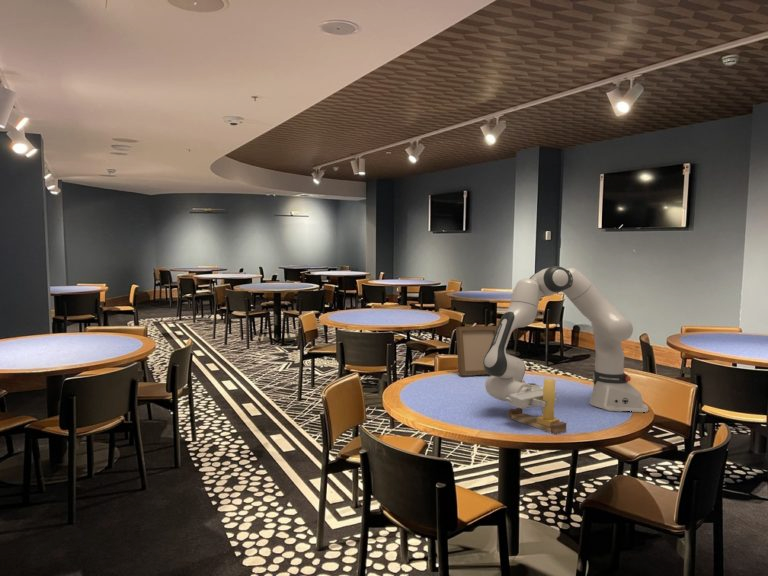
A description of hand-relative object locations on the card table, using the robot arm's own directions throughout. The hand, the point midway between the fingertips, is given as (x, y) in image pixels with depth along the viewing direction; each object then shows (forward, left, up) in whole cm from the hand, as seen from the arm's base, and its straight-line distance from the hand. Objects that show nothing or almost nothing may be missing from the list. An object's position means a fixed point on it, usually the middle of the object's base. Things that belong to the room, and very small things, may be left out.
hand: (550, 403), depth 194 cm
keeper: (+1, -1, -8) cm, 8 cm away
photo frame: (+37, -80, -10) cm, 89 cm away
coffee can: (+22, -71, -10) cm, 75 cm away
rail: (+5, -4, -10) cm, 11 cm away
